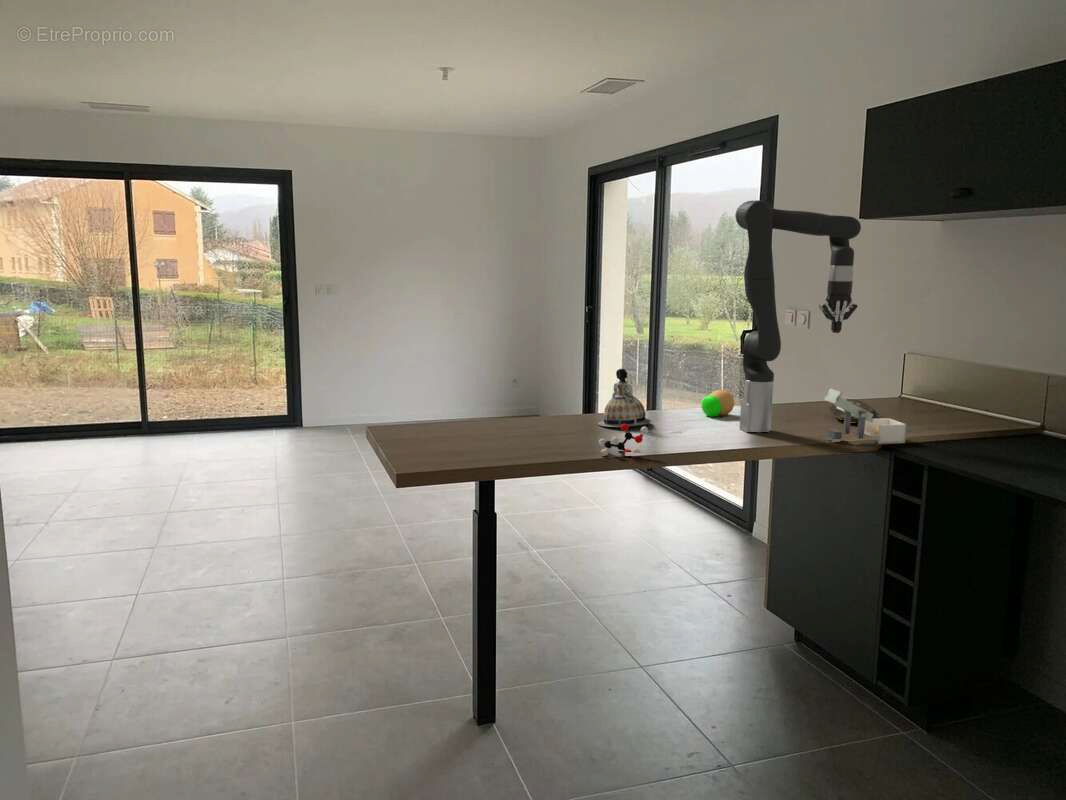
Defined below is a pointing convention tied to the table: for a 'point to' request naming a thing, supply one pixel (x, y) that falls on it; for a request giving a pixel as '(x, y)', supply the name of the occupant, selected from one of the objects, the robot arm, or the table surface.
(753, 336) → the robot arm
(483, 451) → the table surface
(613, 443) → the molecular model
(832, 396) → the lever
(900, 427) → the white open box
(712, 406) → the green and tan spheres
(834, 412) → the turtle shell
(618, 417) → the figurine
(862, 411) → the fulcrum
